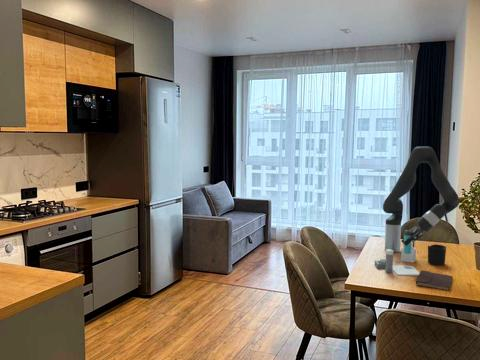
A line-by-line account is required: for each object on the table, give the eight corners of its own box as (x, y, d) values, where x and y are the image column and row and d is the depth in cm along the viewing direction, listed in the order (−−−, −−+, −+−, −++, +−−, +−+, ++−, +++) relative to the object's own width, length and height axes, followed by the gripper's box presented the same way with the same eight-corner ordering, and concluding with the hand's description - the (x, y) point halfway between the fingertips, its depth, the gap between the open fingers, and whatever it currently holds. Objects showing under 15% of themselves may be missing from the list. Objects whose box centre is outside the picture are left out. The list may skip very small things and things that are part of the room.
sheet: (389, 266, 237) (389, 265, 237) (411, 266, 236) (411, 265, 236) (397, 275, 221) (397, 274, 221) (421, 275, 220) (421, 274, 220)
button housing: (374, 264, 240) (374, 260, 240) (387, 265, 239) (387, 260, 239) (377, 268, 233) (377, 264, 233) (390, 268, 232) (390, 264, 232)
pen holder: (447, 266, 237) (448, 248, 236) (429, 265, 239) (429, 247, 238) (442, 261, 246) (443, 244, 245) (425, 260, 248) (426, 244, 247)
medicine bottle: (402, 258, 253) (403, 238, 252) (415, 260, 250) (416, 239, 249) (400, 261, 247) (401, 240, 246) (413, 263, 244) (414, 242, 243)
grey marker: (384, 271, 228) (384, 249, 227) (391, 271, 228) (392, 249, 227) (386, 273, 224) (386, 251, 223) (393, 273, 224) (394, 251, 223)
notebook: (452, 279, 215) (452, 275, 214) (450, 290, 197) (450, 286, 197) (420, 273, 222) (420, 269, 222) (415, 284, 205) (415, 280, 204)
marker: (402, 252, 229) (403, 230, 228) (409, 252, 229) (410, 230, 228) (404, 253, 226) (405, 231, 225) (412, 254, 225) (412, 231, 224)
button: (379, 263, 238) (379, 258, 237) (384, 263, 237) (384, 258, 237) (380, 264, 235) (380, 259, 234) (386, 264, 234) (386, 259, 234)
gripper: (418, 214, 232) (395, 235, 234) (427, 218, 218) (402, 241, 220) (428, 223, 232) (404, 245, 234) (437, 228, 218) (412, 251, 220)
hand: (403, 243), depth 227 cm, fingers closed on marker, 3 cm apart
